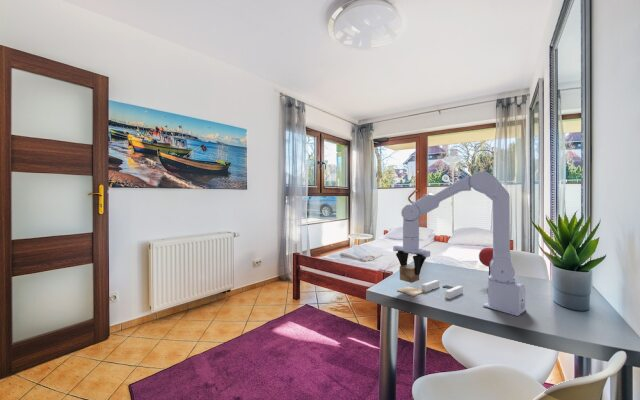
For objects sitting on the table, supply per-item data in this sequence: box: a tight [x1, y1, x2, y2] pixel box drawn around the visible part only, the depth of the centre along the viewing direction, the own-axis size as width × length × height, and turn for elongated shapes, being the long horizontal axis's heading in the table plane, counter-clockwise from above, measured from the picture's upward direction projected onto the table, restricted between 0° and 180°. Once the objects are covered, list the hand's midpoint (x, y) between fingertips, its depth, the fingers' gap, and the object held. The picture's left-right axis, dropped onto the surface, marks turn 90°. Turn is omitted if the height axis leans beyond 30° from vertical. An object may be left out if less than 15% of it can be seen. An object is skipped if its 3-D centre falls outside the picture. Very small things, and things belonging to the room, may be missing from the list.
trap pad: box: [442, 284, 455, 290], centre depth 104 cm, size 6×3×1 cm, turn 38°
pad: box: [396, 286, 425, 297], centre depth 100 cm, size 7×7×1 cm
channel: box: [421, 279, 464, 300], centre depth 100 cm, size 10×10×2 cm
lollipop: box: [478, 247, 493, 276], centre depth 110 cm, size 8×8×15 cm
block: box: [399, 263, 420, 284], centre depth 100 cm, size 5×5×5 cm
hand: (410, 273), depth 100 cm, fingers closed on block, 5 cm apart
